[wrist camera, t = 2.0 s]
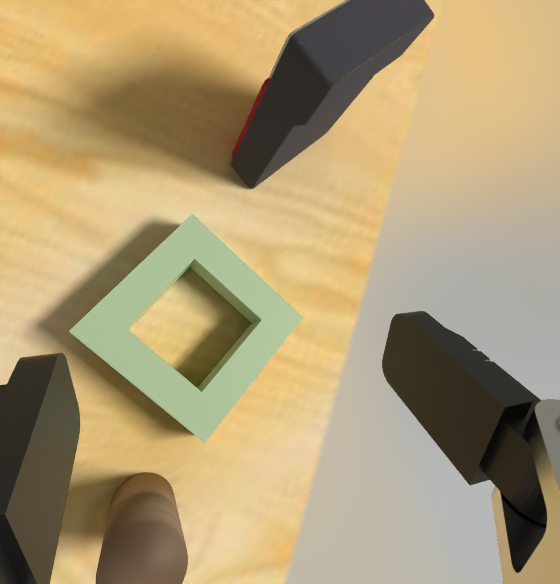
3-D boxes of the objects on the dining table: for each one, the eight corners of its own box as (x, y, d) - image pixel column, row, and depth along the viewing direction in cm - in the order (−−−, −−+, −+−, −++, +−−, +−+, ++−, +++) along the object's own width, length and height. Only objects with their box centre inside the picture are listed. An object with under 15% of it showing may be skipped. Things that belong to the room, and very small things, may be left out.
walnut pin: (144, 550, 27) (145, 637, 19) (95, 514, 27) (74, 587, 18) (186, 495, 29) (205, 552, 20) (141, 460, 28) (141, 503, 20)
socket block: (198, 435, 30) (204, 443, 27) (75, 333, 28) (68, 331, 25) (289, 320, 34) (303, 317, 31) (187, 226, 32) (192, 213, 29)
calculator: (304, 102, 38) (397, -44, 24) (331, 137, 39) (438, 13, 25) (223, 158, 34) (280, 23, 20) (255, 196, 35) (331, 88, 21)
